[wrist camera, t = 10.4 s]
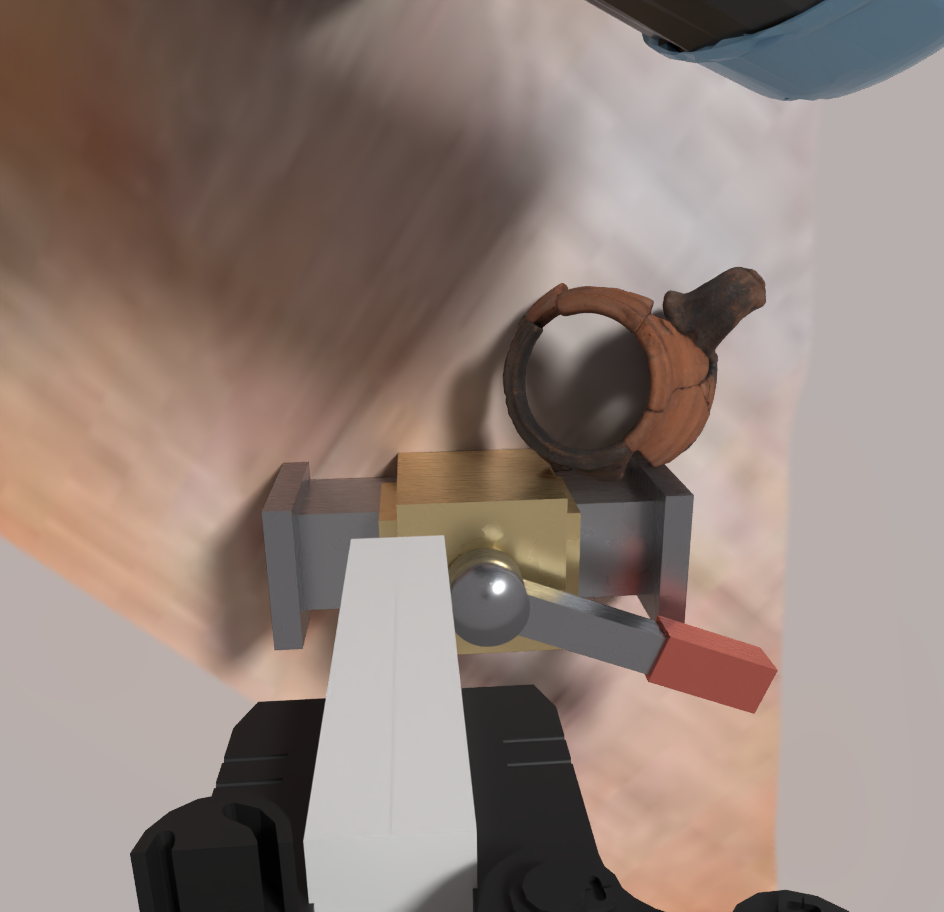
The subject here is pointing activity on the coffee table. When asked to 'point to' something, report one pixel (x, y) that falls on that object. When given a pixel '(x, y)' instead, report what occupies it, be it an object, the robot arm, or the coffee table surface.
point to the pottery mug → (669, 358)
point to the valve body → (483, 530)
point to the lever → (602, 632)
